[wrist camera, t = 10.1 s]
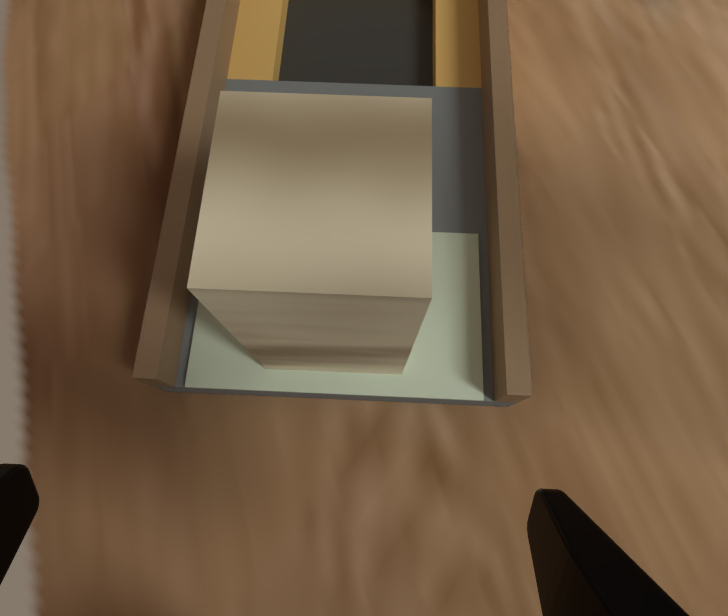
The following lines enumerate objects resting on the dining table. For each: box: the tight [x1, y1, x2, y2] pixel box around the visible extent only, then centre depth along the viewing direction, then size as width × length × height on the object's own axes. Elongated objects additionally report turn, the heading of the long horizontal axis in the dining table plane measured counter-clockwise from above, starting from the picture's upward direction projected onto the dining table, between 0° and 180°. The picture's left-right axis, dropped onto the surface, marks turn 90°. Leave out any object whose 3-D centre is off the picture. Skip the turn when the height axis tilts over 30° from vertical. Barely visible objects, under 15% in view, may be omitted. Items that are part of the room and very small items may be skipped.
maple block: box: [187, 91, 432, 375], centre depth 17 cm, size 6×6×10 cm
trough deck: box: [132, 0, 532, 407], centre depth 25 cm, size 27×16×4 cm, turn 177°
